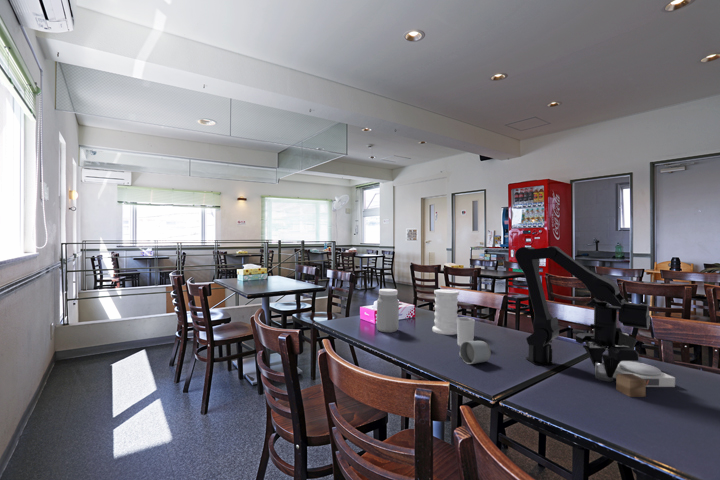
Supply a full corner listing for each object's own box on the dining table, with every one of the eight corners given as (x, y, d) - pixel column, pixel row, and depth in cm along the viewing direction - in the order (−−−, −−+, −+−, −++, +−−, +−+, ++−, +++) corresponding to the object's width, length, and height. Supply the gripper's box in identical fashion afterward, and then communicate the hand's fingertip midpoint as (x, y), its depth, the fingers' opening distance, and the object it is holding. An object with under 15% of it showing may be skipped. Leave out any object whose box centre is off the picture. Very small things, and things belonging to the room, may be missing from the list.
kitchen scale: (632, 387, 101) (632, 375, 101) (600, 370, 113) (601, 360, 113) (676, 387, 101) (676, 375, 101) (640, 371, 114) (640, 360, 114)
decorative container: (438, 335, 152) (439, 293, 152) (428, 328, 163) (429, 289, 163) (463, 334, 154) (464, 292, 154) (451, 327, 165) (452, 289, 165)
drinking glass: (477, 345, 138) (478, 319, 138) (466, 348, 134) (467, 321, 134) (464, 341, 143) (464, 316, 143) (452, 343, 139) (453, 318, 139)
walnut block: (629, 397, 95) (629, 380, 94) (616, 389, 99) (616, 373, 99) (645, 397, 95) (645, 380, 95) (631, 389, 99) (631, 373, 99)
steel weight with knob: (602, 381, 105) (602, 365, 105) (591, 375, 109) (592, 360, 109) (616, 381, 105) (616, 366, 105) (605, 375, 109) (605, 360, 109)
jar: (402, 330, 158) (403, 290, 158) (389, 334, 151) (389, 292, 151) (385, 326, 165) (386, 287, 165) (371, 329, 158) (372, 289, 158)
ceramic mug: (492, 364, 117) (492, 341, 117) (474, 367, 114) (474, 344, 114) (470, 355, 127) (470, 334, 127) (453, 358, 123) (453, 336, 123)
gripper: (658, 331, 98) (656, 387, 98) (608, 316, 117) (606, 363, 117) (619, 330, 97) (617, 387, 97) (575, 315, 116) (574, 363, 116)
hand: (603, 374), depth 107 cm, fingers closed on steel weight with knob, 4 cm apart
